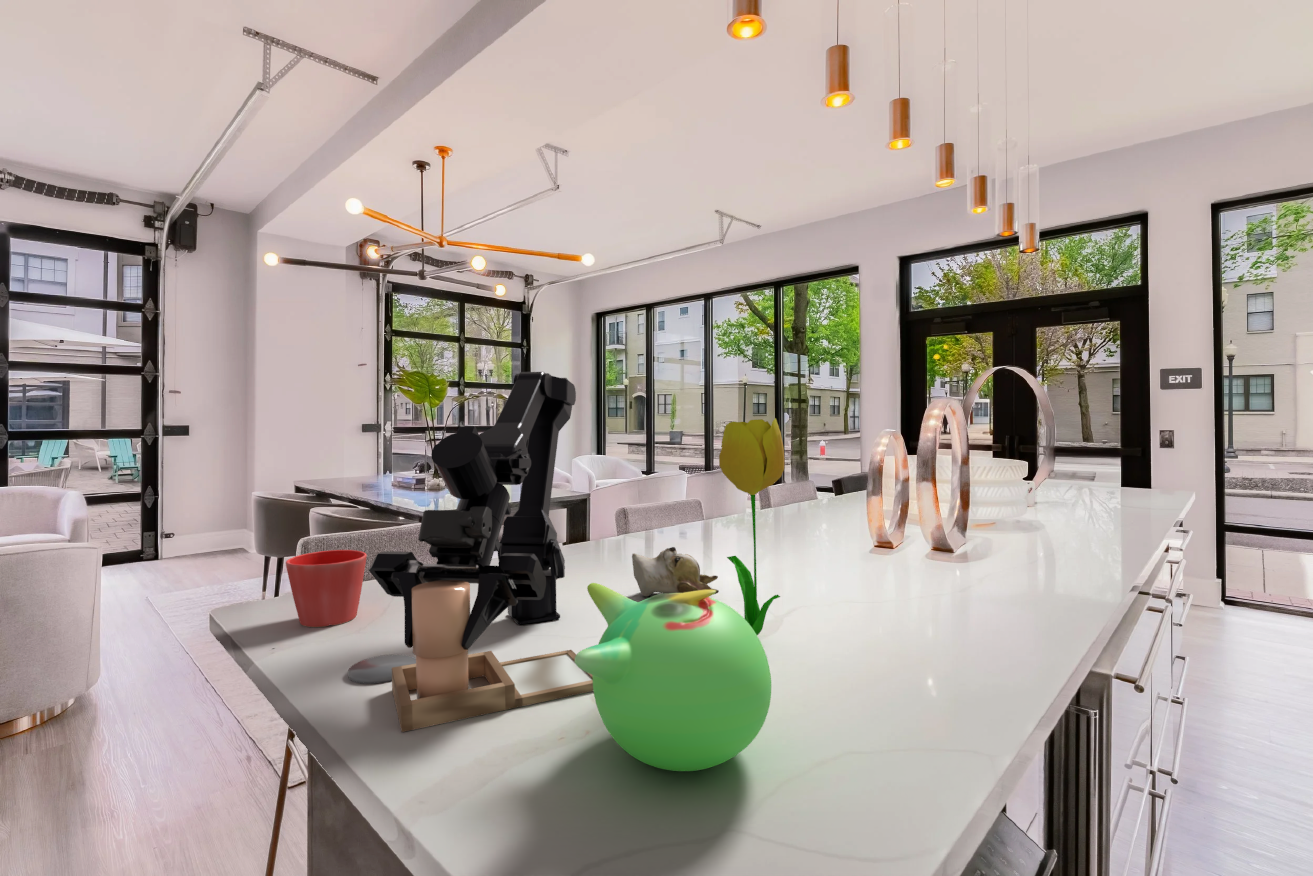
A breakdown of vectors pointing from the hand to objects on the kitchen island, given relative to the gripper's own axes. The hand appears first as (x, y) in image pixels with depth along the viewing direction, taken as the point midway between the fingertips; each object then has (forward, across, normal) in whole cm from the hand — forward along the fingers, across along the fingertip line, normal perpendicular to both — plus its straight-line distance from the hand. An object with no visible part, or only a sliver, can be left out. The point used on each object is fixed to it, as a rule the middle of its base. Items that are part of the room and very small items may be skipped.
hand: (435, 647), depth 65 cm
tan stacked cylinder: (+4, 0, +6) cm, 7 cm away
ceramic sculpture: (-27, +21, +37) cm, 51 cm away
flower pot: (-15, -31, +24) cm, 42 cm away
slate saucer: (-2, -11, +11) cm, 16 cm away
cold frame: (+1, +4, +9) cm, 10 cm away
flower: (-12, +33, +22) cm, 41 cm away
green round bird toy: (+9, +25, +1) cm, 27 cm away
